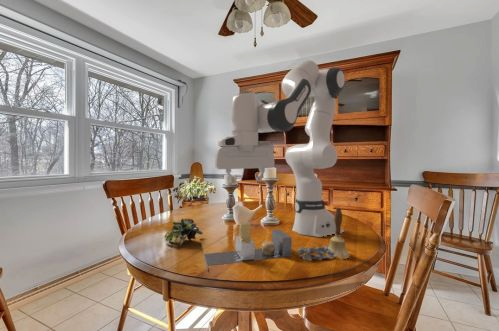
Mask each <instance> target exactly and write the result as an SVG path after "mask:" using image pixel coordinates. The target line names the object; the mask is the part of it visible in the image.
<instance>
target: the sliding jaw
mask: <svg viewBox="0 0 499 331" xmlns="http://www.w3.org/2000/svg"><path fill="white" fill-rule="evenodd" d="M251 234H252V224H251V223H250V222H249V221H242V222H241V221H239V222H238V235H235V251H236V252H237V254H238V255H239V257H240V259H241V260H251V259H255V249H256V248H255V247H256V242H255V241H254V240H253V239H252V235H251Z"/></svg>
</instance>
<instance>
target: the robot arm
mask: <svg viewBox="0 0 499 331" xmlns="http://www.w3.org/2000/svg"><path fill="white" fill-rule="evenodd" d="M345 84H346V75H345V72H344V71H343V70H342V69H341V68H340V67H330V68H324V69H323V68H322V69H320V68H319V66H318V64H317V63H316V62H315V61H313V60H309V59H308V60H303V61H302V62H299V63H298V64H297V65H295V66H294V67H293V68H291V70H289V71H288V72H287V73H286V75H285V76H284V78H283V79H282V81H281V90H282V92H283V94H284V96H285V97H286V98H284V99H279V100H277V101H274V102H270V103H266V104H265V103H264V102H262V101H261V100H260V99H259V98H258V97H257V94H256V92H253V91H243V92H239V93H236V94H235V95H234V96H233V97H232V101H231V111H230V112H231V123H232V128H231V136H227V137H224V138H222V139H219V140H218V141H217V142H218V143H217V145H218V148H217V149H216V152H215V158H214V167H215V168H216V169H217V170H225V174H226V175H227V176H228V181H229V184H234V183H235V180H236V179H235V178H236V177H233V176H232V174H231V173H232V170H240V169H241V170H243V169H258V171H259V173H258V175H256V176H255V178H256V179H255V181H256V182H258V183H259V182H262V180H263V178H262V177H263V175H264V174H265V170H266V169H270V168H274V167H275V165H276V164H275V155H274V152H275V151H274V150H275V146H274V144H273V143H272V142H271V141H269V140H265V141H264V140H263V141H262V140H259V133H260V134H262V133H263V134H264V133H272V132H289V131H290V130H292V129H293V127H294V126H295V124H296V122H297V119H298V116H299V114H300V113H301V112H300V111H301V110H302V109H303V106H305V104H306V102H307V100H308V99H309V98H314V100H313V102H312V105H311V108H310V111H309V113H308V116H307V120H306V123H305V125H304V131H305V133H306V134H307V136H308V137H309V142H308V143H302V144H300V143H299V144H294V145H293V146H290V147H288V148H287V149H286V151H285V154H284V159H285V161H286V163H287V165H288V166H289V167H290V168H291V170H292V173H293V175H294V178H295V183H296V184H295V186H296V192H295V193H296V196H295V197H296V198H295V202H294V206H295V209H294V210H295V214H294V215H295V217H294V222H293V226H292V230H291V231H292V232H296V233H298V234H299V235H304V236H310V237H311V236H312V237H316V238H323V236H324V237H328V236H327V235H330V236H333V235H332V234H335V229H336V226H335V222H334V214H333V213H332V212H331V211H329V210H328V209H327V208H326V207H330V205H331V202H330V201H327V200H325V201H324V200H323V199H322V198H323V183H322V180H320V178H319V177H317V176H316V174H315V171H314V170H315V169H319V170H322V169H323V170H324V169H328V168H332V167H333V166H334V165H335V164H337V161H338V150H337V148H336V147H335V146H334V145H333V144H332V142H331V136H330V135H331V130H332V125H333V121H334V118H335V114H336V104H337V103H336V102H337V101H336V98H337V97H338V96H339V95H340V93H341V92H342V90H343V89H344V87H345ZM340 232H344V233H345V230H344V228H342V227H340Z"/></svg>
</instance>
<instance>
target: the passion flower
mask: <svg viewBox="0 0 499 331" xmlns="http://www.w3.org/2000/svg"><path fill="white" fill-rule="evenodd" d="M171 223H172V228H171V230H170V232H169V231H167V232H166V233H165V235H164V236H163V237H164V238H165V241H167V242H168V243H171V241H172V240H173V239H174V243H175V244H177V240H178V238H179V241H180V243H179V245H178V246H179V248H180V247H181V246H182V244H183V242H184V241H185V240H186V239H187V240H188V241H191V240H192V239H193V240H196V235H197V234H198V235H203V234H204V232H203V231H201V230H200V228H199V226H197V225H198V224H197V223H195V221H194V219H192V218H190V217H187V218H185V217H184V218H181V219H180V220H178V221H172V222H171Z"/></svg>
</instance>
